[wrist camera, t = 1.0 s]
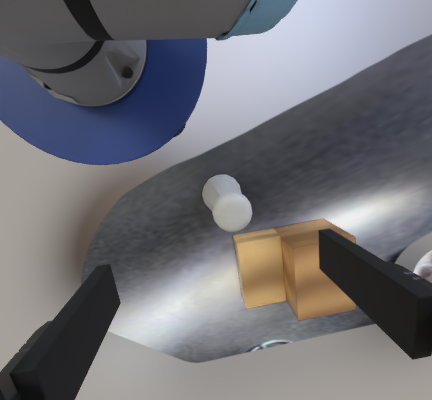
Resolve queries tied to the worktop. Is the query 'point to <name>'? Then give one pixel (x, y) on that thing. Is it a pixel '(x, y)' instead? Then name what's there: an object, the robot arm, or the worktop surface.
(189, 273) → the worktop surface
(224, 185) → the salt shaker
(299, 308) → the stepped wooden block
